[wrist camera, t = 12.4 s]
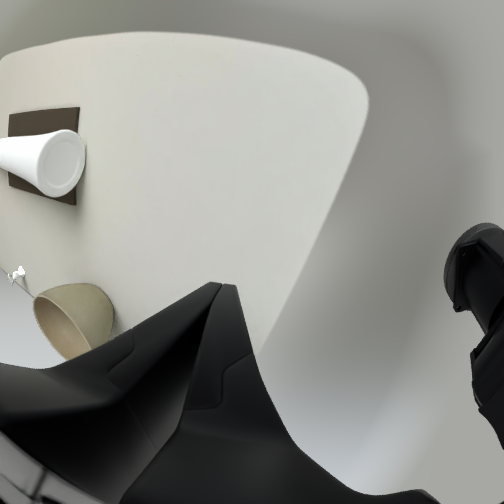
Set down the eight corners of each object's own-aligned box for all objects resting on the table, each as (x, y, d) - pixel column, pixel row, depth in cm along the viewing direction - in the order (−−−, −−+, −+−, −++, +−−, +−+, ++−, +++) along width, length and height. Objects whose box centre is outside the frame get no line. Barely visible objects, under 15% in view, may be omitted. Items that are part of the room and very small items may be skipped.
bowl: (144, 315, 27) (107, 359, 21) (112, 343, 32) (82, 378, 25) (84, 247, 26) (38, 279, 19) (63, 288, 30) (28, 317, 24)
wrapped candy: (19, 270, 32) (7, 279, 30) (20, 265, 32) (7, 274, 29) (24, 277, 33) (12, 286, 30) (25, 272, 32) (12, 281, 29)
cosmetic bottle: (89, 128, 20) (6, 126, 23) (38, 132, 14) (-26, 132, 18) (84, 190, 22) (3, 166, 26) (35, 205, 17) (-28, 174, 20)
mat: (79, 107, 19) (76, 107, 19) (76, 204, 24) (73, 205, 23) (11, 114, 21) (9, 114, 21) (11, 184, 25) (8, 185, 25)
